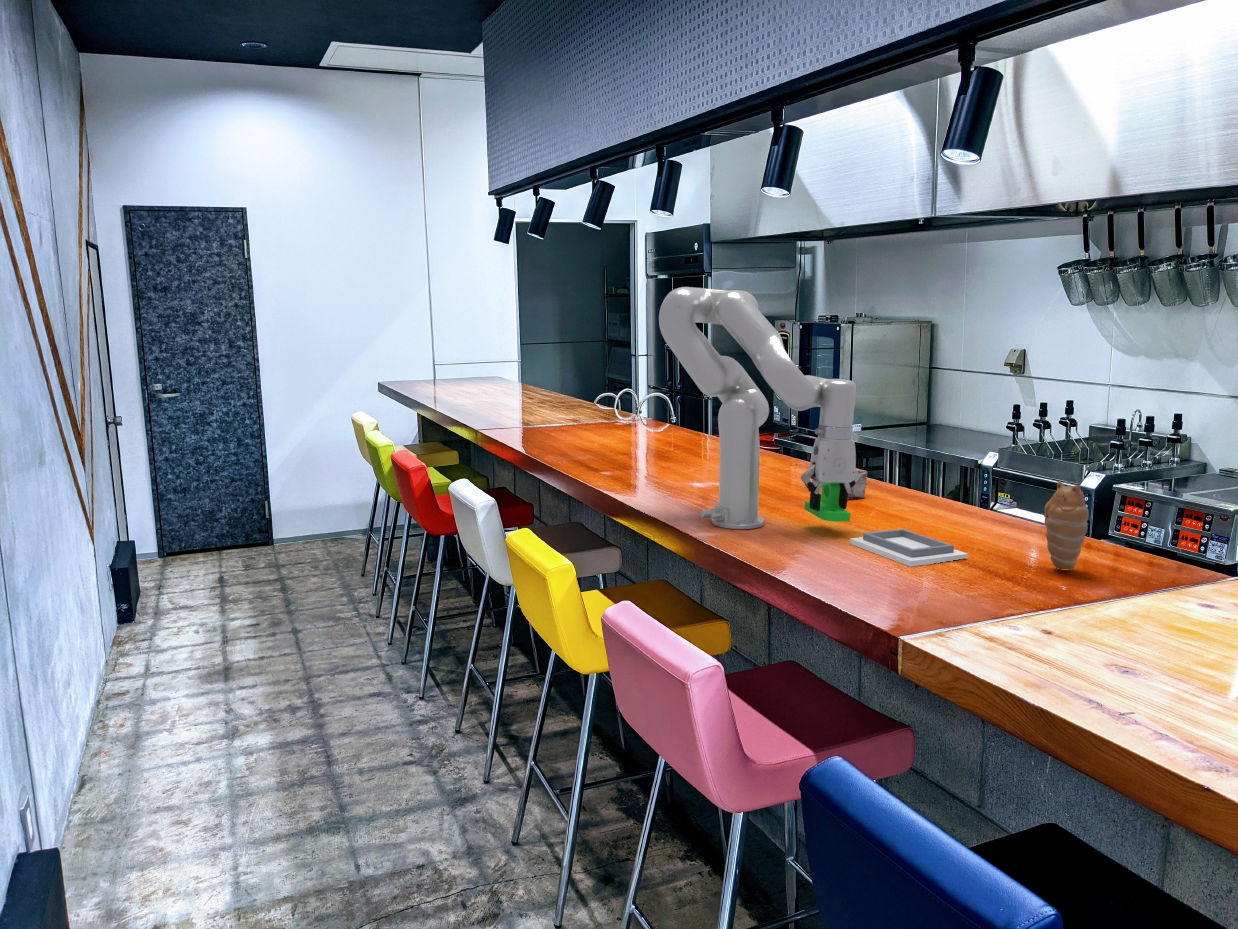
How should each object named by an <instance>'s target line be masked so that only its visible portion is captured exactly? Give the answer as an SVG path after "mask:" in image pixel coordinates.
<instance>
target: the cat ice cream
mask: <svg viewBox="0 0 1238 929" xmlns="http://www.w3.org/2000/svg"><path fill="white" fill-rule="evenodd" d="M1043 515H1044V521H1043V522H1044V525H1045V527H1046V532H1045V537H1046V541H1047V546H1046V547H1047V550H1048V551H1047V552H1049V553H1050V554H1049V555H1050V561H1051V562H1052V565H1053V566H1054V568H1055V567H1056V569H1057V568H1059V569H1071V570H1073V569H1074V568H1075V566H1076V565H1077V561H1078V560H1077V559H1078V558H1079V556H1080V554H1081V551H1082V546H1083V544H1084V541H1085V539H1086V538H1085V535H1086V534H1087V532H1088V520H1089V509H1088V507H1087V506H1086V497H1085V494H1084V492H1083V491H1082V490H1081V485H1080V484H1078V485H1075V486H1071V485H1065V484H1064V483H1062V481H1060V480H1058V481H1057V484H1056V491H1055V492H1054V493H1053V494H1052V496H1050V499H1049V500H1047V502H1046V503H1045V505H1044V514H1043Z"/></svg>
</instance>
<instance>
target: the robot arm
mask: <svg viewBox="0 0 1238 929" xmlns="http://www.w3.org/2000/svg"><path fill="white" fill-rule="evenodd" d="M658 312H659V315H658V324H659V330H660V334H661V335H662V337H663V339H664V342H665V343H666V345H667V346H668V348H670V350H671V351H672V352H673V354H674V355H675V357H676V358H677V360H678V361H679V363H680V364H681V365H682V367H683V368H684V370H685V371H686V372H687V374H688V375H689V376H690V378H691V380H693V382H694V383H695V385H696V386H697V388H698V389H699V390H700V392H702V393H703V394H704V395H706V396H708V397H711V398H713V397H715V398H716V397H717V398H718V399H719V401H720V402H721V403H722V404H721V406H720V408H719V410H718V416H717V421H718V422H717V423H718V426H717V427H718V434H719V473H718V474H719V479H718V483H719V484H718V504H714V507H713V508H712V509H702V510H700V511H699V514H700V518H701V519H708V518H710V519H711V524H713V525H714V526H716V527H719V528H724V529H730V530H751V529H757V528H761V527H763V526H764V525H765V519H764V518H763V517H761V516H759V490H760V487H759V485H760V462H761V461H760V459H761V457H760V456H761V455H760V454H761V448H760V447H761V446H760V443H761V442H760V432H759V428H760V427H761V426H762V425H763V424H764V423H765V422H766V421H767V419H768V417H769V414H770V406H769V402H768V400H767V398H766V397H765V395H764V394H763V392H762V391H761V390H760V388H759V387H758V386H757V384H756V383H755V381H754V380H753V379H752V378H751V377H750V375H749V374H748V372H747V371H746V370H745V368H744V367H743V365H741V364H740V363H739V362H738V361H737V359H736V360H735V358H733V357H730V356H727V355H721V354H720V353H719V352H718V351H717V350H716V349H715V347H714V346H713V344H711V342H710V340H709V339H708V338H707V336H706V335H705V334H704V333H703V332H702V331H701V330H700V329H699V328H698V326H697V324H696V323H702V324H710V325H713V324H714V325H720V326H721V325H722V326H723V327H724V329H726V331H727V332H728V333H729V334H730V335H731V337H732V338H733V339H734V340H735V341H736V342H737V343H738V344H739V346H740V347H741V348H742V349H743V350H744V352H745V353H746V354H747V355H748V356H749V357H750V358H751V360H752V362H753V363H754V365H755V367H756V369H757V370H758V371H759V373H760V375H761V377H763V379H764V380H765V382H766V383H767V385H768V386H769V387H770V388H771V390H773V391H774V392H775V394H776V395H777V396H778V397H779V399H780V400H781V401H782V402H783V403H784V404H785V405H786V406H787V407H789V408H790V409H792V410H794V411H797V412H798V411H799V412H802V411H806V410H809V409H811V408H817V407H819V408H820V412H819V424H818V427H817V428H815V430H814V434H815V435H817V437H816V438H815V440H814V444H813V447H812V452H811V454H810V455H811V456H810V463H809V467H808V468H807V469H806V470H805V471H804V472H803V473H802V474H801V475H800V479H801V481H802V482H803V484H804V486H805V487H806V489H807V490H808V492H809V501H810V503H809V504H810V509H813V510H815V511H819V510H820V503H821V493H820V492H821V491H822V486H823V484H831V483H838V484H839V488H840V494H839V506H840V508H842V509H844V510H847V505H848V500H849V499H848V493H849V492H851V488H852V487H853V486H854V485H855V482H857V481H858V479H859V478H860V476H861V475H860V474H859V473H858V471H857V470H856V468H857V467H856V466H857V465H856V464H857V463H856V462H857V454H856V444H855V440H854V439H853V438H852V436H853V427H854V426H853V425H854V415H855V407H856V406H855V405H856V398H857V397H856V395H857V384H856V382H854V381H853V380H850V379H844V378H843V379H842V378H824V377H819V376H815V375H809V374H808V375H807V374H806V375H805V374H803V372H802V371H801V370H800V368H798V367H797V365H796V364H795V363H794V362H793V360H792V359H791V358H790V356H789V355H788V353H787V351H786V348H785V346H784V342H783V339H782V336H781V334H780V333H779V332H778V330H777V329H776V328H775V327H774V326H773V324H771V323H770V321H769V320H768V319H767V318H766V317H765V316H764V315H763V313H762V312H761V311H760V309H759V303H758V301H757V299H756V297H755V296H754V295H753V294H751V293H750V292H749V291H745V290H738V289H736V290H735V289H734V290H729V289H728V290H727V289H717V288H716V289H715V288H714V289H713V288H705V287H704V288H703V287H693V286H691V287H690V286H681V287H678V288H675V289H673V290H671V291H670V292H668V293H667V295H666V296H665V298H664V299H663V302H662V303H661V305H660V308H659V311H658Z"/></svg>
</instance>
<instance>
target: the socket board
mask: <svg viewBox="0 0 1238 929" xmlns="http://www.w3.org/2000/svg"><path fill="white" fill-rule="evenodd" d="M849 544H850V545H852V546H854V547H858V548H860V549H863V550H866V551H867V552H870V553H873V554H876V555H878V556H881V557H883V558H885V559H889V560H891V561H894V562H897V563H899V564H902V565H905V566H907V567H910V568H912V567H919V566H920V567H921V566H925V565H926V566H928V565H933V564H934V563H936V564H941V563H940V562H943V563H947V562H946V561H951V562H954V561H953V560H958V559H963V558H968V557H969V554H968V553H966V552H963V551H961V550H959V549H958V550H957V549H955V545H954V544H952V543H951V544H950V543H948V542H944V541H941V540H938V539H935V538H933V537H930V536H926V535H923V534H920V533H917V532H914V531H912V530H908V529H906V528H899V529H898V528H897V529H891V530H890V529H889V530H888V529H887V530H876V531H872V532H864V533H863V535H862V536H861V537H854V538H853V537H851V538H849Z"/></svg>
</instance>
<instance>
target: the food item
mask: <svg viewBox="0 0 1238 929" xmlns="http://www.w3.org/2000/svg"><path fill="white" fill-rule="evenodd" d="M856 470H857V471H858V473H859V474H860V475H861V476H860V478H859V479H858V481H857V482H855V485H854V486H853V487H852V488H851V492H849V493H848V500H854V499H853V498H861V499H865V497H866V496H865V495H866V489H867V485H868V483H867V481H868V479H867V478H868V471H867V470H863V469H860V468H857V467H856Z"/></svg>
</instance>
